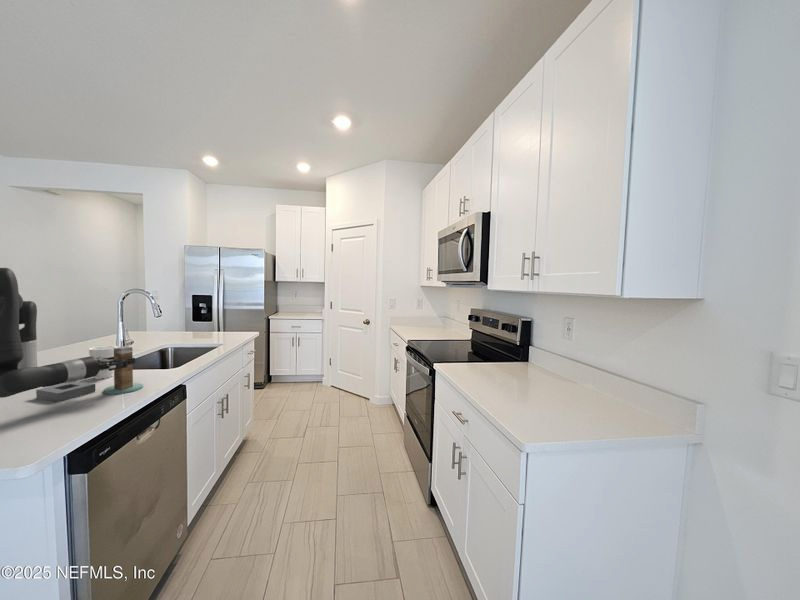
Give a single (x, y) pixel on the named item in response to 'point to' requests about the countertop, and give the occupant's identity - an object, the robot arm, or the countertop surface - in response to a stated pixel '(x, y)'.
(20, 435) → the countertop surface
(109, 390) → the mat
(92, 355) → the foam cup
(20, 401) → the countertop surface
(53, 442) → the countertop surface
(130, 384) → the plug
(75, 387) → the socket block
